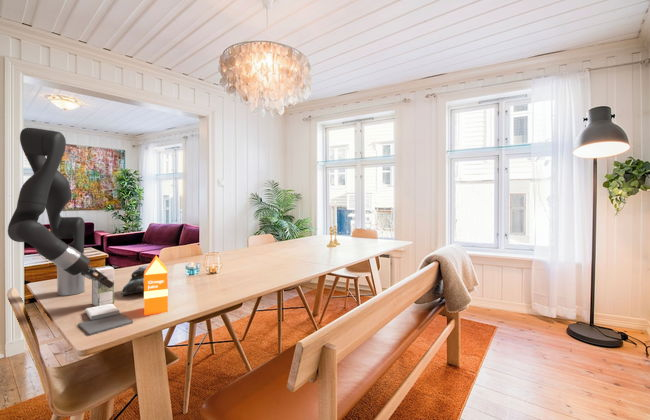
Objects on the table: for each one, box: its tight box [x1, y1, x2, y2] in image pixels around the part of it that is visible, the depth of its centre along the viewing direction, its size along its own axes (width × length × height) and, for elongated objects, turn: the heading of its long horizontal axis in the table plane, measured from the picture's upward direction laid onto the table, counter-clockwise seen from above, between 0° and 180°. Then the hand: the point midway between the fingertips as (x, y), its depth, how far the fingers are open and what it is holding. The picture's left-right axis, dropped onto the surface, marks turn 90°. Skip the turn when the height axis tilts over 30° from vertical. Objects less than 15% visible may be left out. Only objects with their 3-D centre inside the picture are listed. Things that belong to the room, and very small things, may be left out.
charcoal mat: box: [77, 312, 134, 336], centre depth 101 cm, size 12×12×1 cm
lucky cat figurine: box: [120, 265, 149, 297], centre depth 135 cm, size 15×12×14 cm
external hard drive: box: [85, 303, 121, 320], centre depth 109 cm, size 2×8×12 cm
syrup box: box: [91, 265, 115, 307], centre depth 120 cm, size 6×6×14 cm
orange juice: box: [143, 255, 169, 316], centre depth 114 cm, size 8×9×20 cm
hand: (108, 284), depth 121 cm, fingers closed on syrup box, 6 cm apart
